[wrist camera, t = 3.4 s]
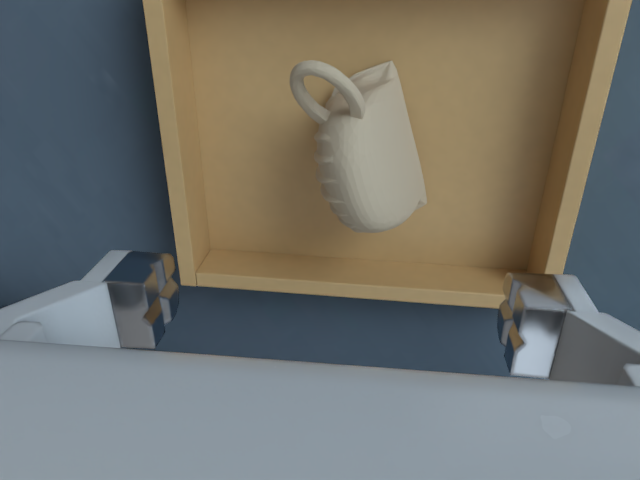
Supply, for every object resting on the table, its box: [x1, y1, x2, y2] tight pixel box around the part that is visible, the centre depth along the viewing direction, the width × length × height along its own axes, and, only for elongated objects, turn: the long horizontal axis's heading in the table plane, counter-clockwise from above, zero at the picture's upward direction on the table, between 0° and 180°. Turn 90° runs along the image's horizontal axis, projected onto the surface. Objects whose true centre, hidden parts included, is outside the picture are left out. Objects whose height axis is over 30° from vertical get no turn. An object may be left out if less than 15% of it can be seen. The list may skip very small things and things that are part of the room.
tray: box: [143, 0, 632, 309], centre depth 23 cm, size 18×15×3 cm
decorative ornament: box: [290, 60, 427, 233], centre depth 22 cm, size 4×8×5 cm, turn 15°
